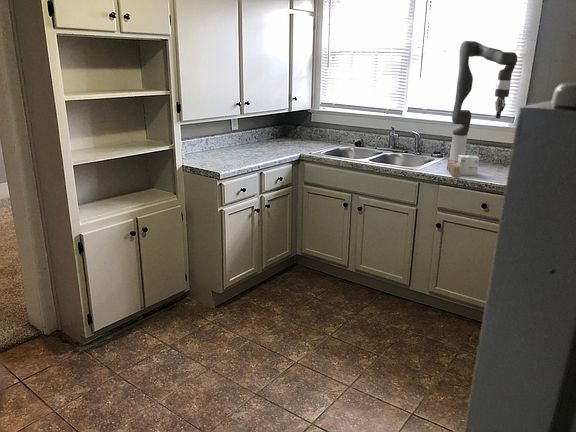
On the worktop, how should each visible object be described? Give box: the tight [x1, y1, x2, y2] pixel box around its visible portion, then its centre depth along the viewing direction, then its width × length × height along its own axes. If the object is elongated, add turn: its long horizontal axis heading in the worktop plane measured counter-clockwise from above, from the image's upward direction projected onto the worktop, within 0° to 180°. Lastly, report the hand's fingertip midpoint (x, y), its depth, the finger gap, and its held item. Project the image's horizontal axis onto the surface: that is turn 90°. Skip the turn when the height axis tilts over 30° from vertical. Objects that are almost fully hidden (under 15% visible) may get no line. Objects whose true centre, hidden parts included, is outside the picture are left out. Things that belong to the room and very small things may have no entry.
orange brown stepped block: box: [446, 159, 460, 178], centre depth 285 cm, size 20×3×6 cm, turn 173°
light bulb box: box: [457, 154, 480, 176], centre depth 283 cm, size 11×7×11 cm, turn 85°
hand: (497, 118), depth 286 cm, fingers closed
